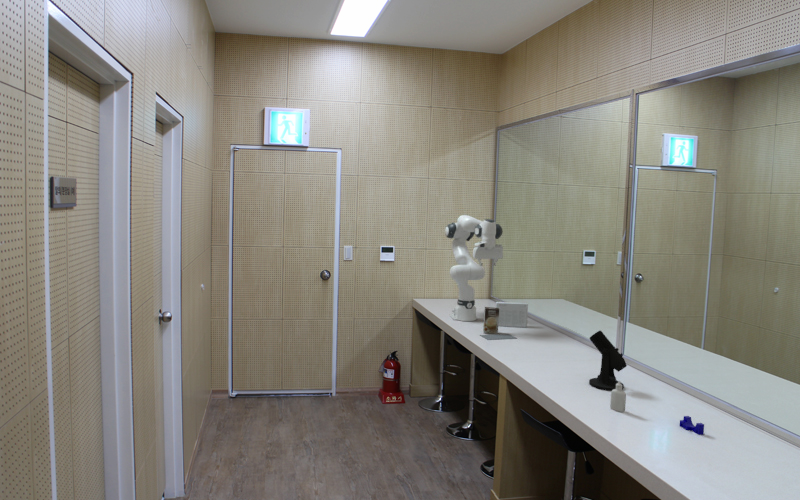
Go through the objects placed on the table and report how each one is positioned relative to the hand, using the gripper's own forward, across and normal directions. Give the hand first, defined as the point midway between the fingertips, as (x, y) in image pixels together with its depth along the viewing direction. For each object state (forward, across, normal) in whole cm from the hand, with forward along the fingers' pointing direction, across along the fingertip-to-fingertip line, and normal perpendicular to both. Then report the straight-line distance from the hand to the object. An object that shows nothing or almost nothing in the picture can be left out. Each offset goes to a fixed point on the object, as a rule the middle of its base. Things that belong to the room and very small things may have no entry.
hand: (487, 265), depth 349 cm
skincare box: (+42, -23, -7) cm, 49 cm away
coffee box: (+42, 0, +9) cm, 43 cm away
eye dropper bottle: (+42, +7, +139) cm, 145 cm away
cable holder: (+42, -7, +162) cm, 167 cm away
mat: (+42, 0, +20) cm, 47 cm away
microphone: (+42, -8, +112) cm, 120 cm away
